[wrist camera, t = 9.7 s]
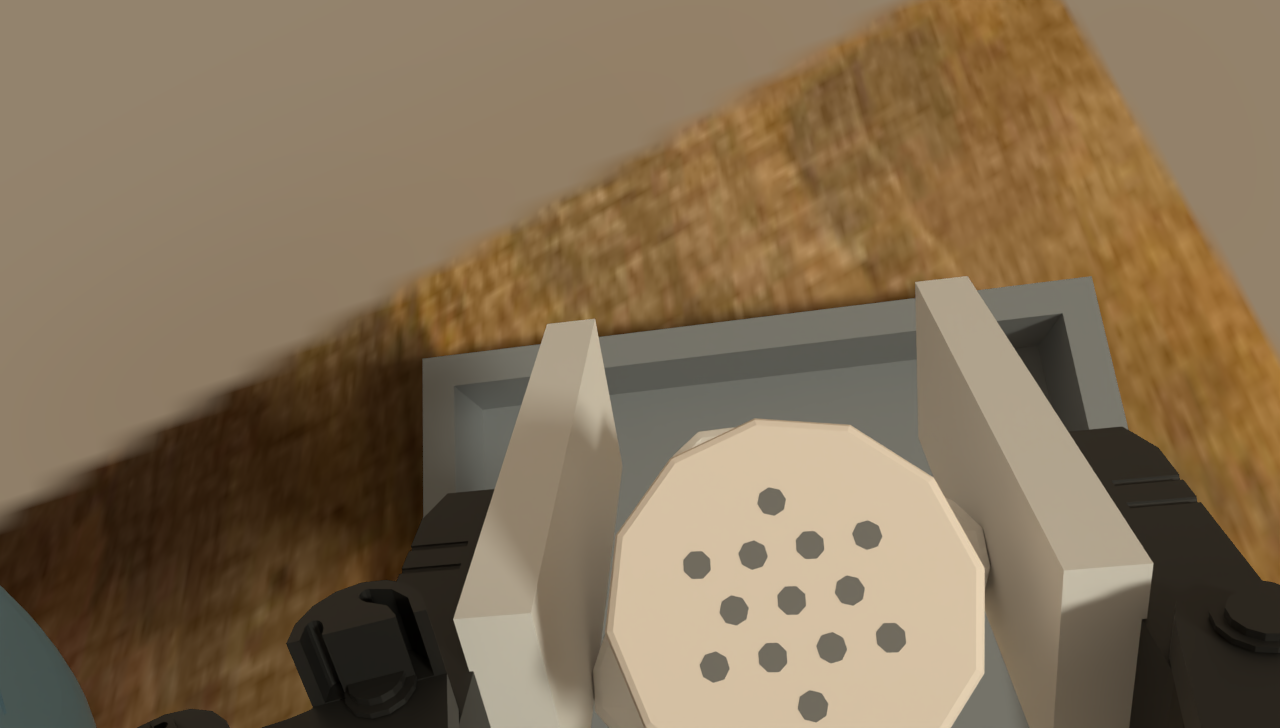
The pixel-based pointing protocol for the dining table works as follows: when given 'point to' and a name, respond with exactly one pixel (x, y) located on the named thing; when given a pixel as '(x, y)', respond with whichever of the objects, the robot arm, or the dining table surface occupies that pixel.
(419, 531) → the robot arm
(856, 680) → the pepper shaker
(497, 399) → the box
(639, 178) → the dining table surface
